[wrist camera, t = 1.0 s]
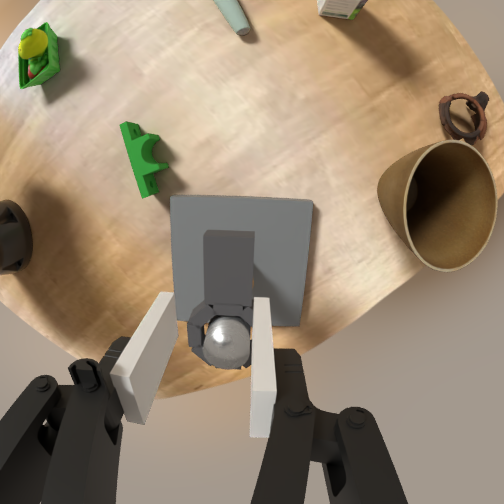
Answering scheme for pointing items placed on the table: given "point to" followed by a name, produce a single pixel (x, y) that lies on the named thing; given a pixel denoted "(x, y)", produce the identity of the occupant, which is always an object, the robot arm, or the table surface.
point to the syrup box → (340, 8)
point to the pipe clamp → (142, 157)
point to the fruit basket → (37, 56)
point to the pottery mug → (479, 118)
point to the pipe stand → (265, 248)
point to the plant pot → (441, 203)
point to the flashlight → (234, 15)
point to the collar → (224, 284)
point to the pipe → (227, 341)
